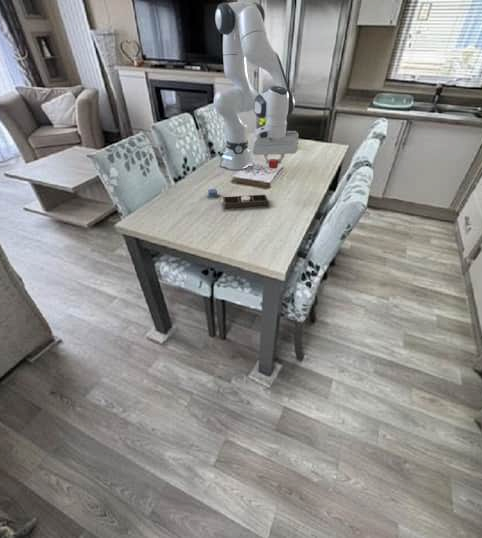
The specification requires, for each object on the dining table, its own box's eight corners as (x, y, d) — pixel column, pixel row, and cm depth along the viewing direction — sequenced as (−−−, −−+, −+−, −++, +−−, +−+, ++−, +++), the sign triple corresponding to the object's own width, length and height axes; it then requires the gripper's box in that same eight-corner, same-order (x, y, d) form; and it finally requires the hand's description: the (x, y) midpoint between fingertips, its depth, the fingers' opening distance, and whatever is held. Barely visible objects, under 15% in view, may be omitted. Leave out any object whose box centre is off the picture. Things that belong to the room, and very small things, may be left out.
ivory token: (240, 202, 136) (240, 196, 135) (249, 201, 137) (249, 195, 135) (241, 206, 133) (241, 200, 131) (250, 205, 134) (251, 199, 132)
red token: (267, 165, 139) (268, 159, 137) (276, 165, 139) (277, 158, 137) (269, 168, 136) (270, 162, 134) (278, 168, 136) (279, 161, 134)
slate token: (208, 195, 143) (207, 189, 142) (217, 194, 144) (216, 188, 142) (208, 198, 140) (208, 193, 138) (217, 198, 141) (217, 192, 139)
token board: (223, 203, 137) (223, 196, 135) (265, 200, 140) (265, 194, 138) (224, 210, 132) (224, 203, 130) (268, 207, 134) (268, 201, 132)
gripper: (296, 128, 131) (293, 160, 140) (251, 129, 129) (250, 161, 137) (301, 132, 127) (297, 165, 136) (253, 134, 124) (252, 166, 133)
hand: (273, 163), depth 136 cm, fingers closed on red token, 4 cm apart
